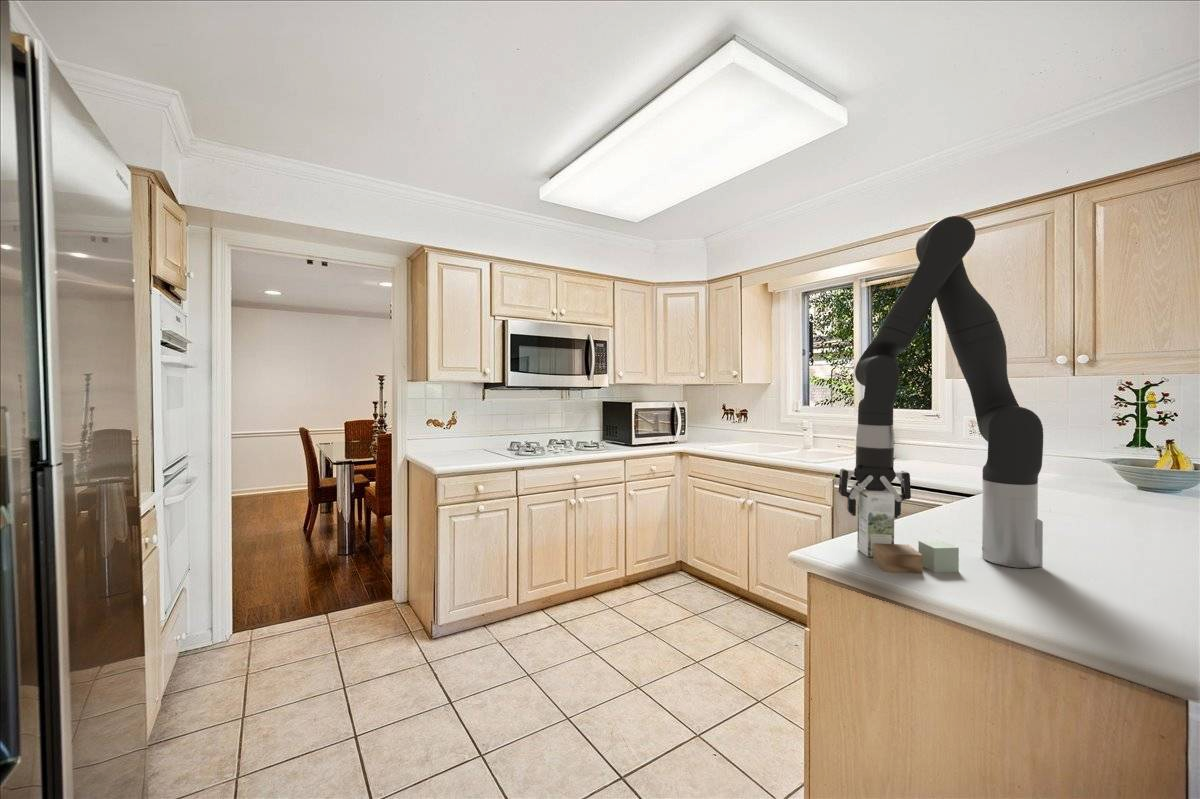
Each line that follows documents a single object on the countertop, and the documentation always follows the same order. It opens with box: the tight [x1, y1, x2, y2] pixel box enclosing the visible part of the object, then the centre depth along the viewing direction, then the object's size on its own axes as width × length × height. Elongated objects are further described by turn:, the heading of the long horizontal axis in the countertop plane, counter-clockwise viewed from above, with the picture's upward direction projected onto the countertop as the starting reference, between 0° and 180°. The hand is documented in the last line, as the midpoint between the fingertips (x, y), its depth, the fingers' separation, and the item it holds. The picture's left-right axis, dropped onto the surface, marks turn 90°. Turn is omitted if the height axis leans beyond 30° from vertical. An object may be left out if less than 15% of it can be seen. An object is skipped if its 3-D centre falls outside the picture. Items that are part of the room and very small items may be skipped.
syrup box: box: [857, 488, 895, 558], centre depth 115 cm, size 6×6×14 cm
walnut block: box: [872, 543, 924, 575], centre depth 107 cm, size 7×7×4 cm
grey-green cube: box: [918, 540, 960, 573], centre depth 106 cm, size 5×5×5 cm
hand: (873, 516), depth 116 cm, fingers open, 8 cm apart
